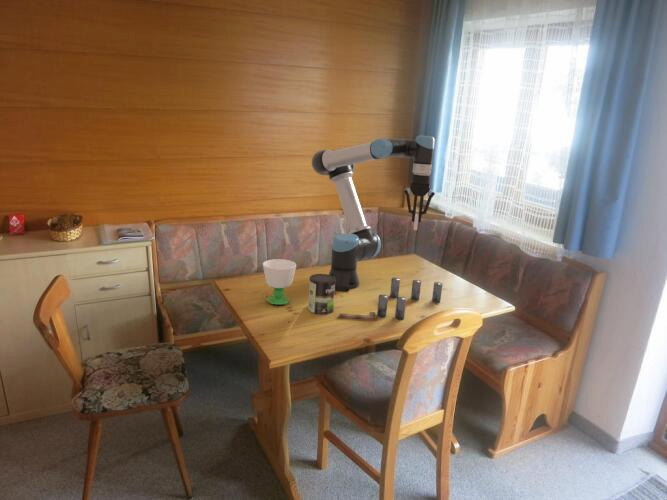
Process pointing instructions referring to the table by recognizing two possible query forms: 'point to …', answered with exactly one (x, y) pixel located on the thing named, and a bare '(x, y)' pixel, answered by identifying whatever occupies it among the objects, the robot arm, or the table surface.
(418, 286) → the post
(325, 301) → the coffee can
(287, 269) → the cup
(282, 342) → the table surface
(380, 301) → the post
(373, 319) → the hook stick
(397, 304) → the post
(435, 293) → the post
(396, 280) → the post
